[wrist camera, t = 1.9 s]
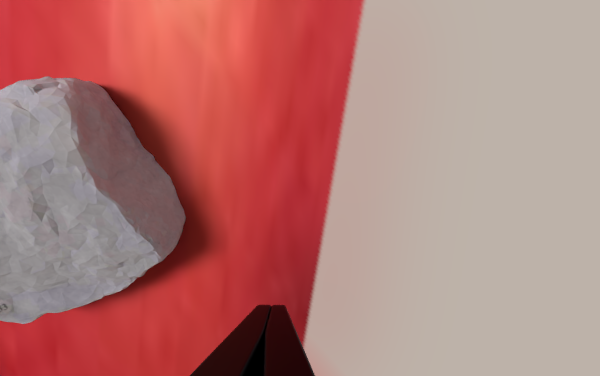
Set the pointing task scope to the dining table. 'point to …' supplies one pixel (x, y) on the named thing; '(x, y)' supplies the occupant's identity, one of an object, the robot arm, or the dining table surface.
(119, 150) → the stone block
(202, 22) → the dining table surface
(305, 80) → the dining table surface
